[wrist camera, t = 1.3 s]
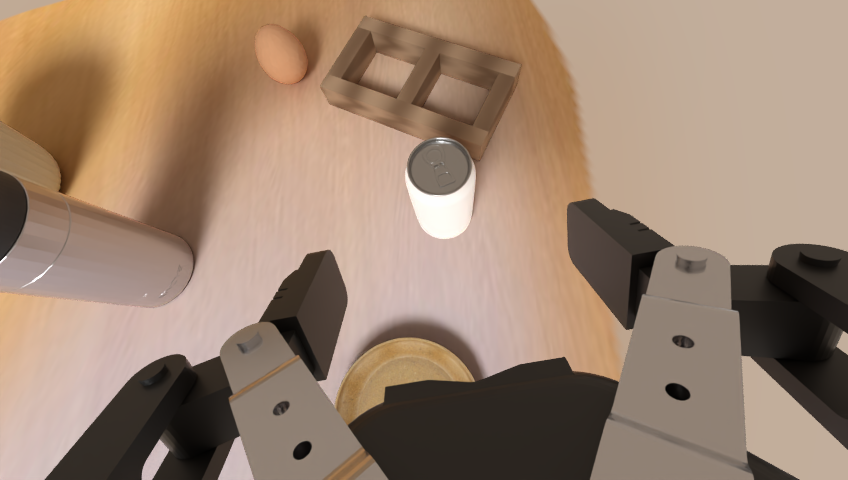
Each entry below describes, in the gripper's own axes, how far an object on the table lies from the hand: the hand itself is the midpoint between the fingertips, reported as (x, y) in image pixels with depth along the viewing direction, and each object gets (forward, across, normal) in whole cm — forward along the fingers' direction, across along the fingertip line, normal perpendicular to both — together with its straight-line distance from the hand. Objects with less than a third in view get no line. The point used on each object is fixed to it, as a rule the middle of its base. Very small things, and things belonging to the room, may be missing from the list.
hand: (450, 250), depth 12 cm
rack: (+40, 0, -2) cm, 40 cm away
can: (+28, 0, +11) cm, 30 cm away
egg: (+44, +17, -7) cm, 48 cm away
